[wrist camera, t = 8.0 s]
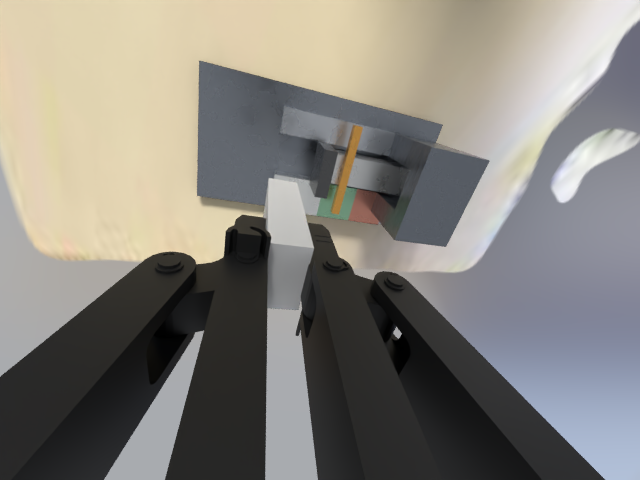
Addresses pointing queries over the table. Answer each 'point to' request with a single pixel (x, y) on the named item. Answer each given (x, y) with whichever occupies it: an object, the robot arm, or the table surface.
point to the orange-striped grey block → (353, 171)
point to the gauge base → (333, 128)
